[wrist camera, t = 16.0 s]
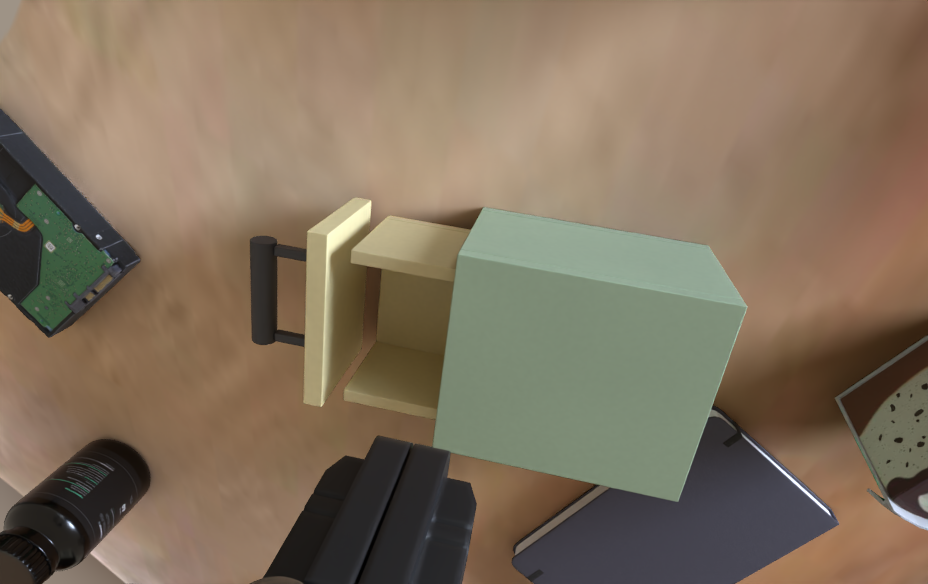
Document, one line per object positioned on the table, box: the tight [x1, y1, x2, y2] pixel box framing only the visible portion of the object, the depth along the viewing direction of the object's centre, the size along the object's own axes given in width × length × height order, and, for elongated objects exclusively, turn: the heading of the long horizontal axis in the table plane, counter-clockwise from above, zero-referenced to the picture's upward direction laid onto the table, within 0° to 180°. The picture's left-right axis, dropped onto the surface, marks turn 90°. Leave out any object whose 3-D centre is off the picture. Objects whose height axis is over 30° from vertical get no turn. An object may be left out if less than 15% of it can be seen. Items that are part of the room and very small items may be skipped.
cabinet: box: [432, 207, 747, 502], centre depth 37 cm, size 15×13×10 cm
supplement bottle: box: [0, 439, 150, 584], centre depth 49 cm, size 7×7×12 cm
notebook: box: [512, 406, 839, 584], centre depth 47 cm, size 13×2×21 cm
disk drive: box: [0, 109, 140, 338], centre depth 45 cm, size 10×3×15 cm
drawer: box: [250, 198, 471, 420], centre depth 38 cm, size 18×11×8 cm, turn 82°
